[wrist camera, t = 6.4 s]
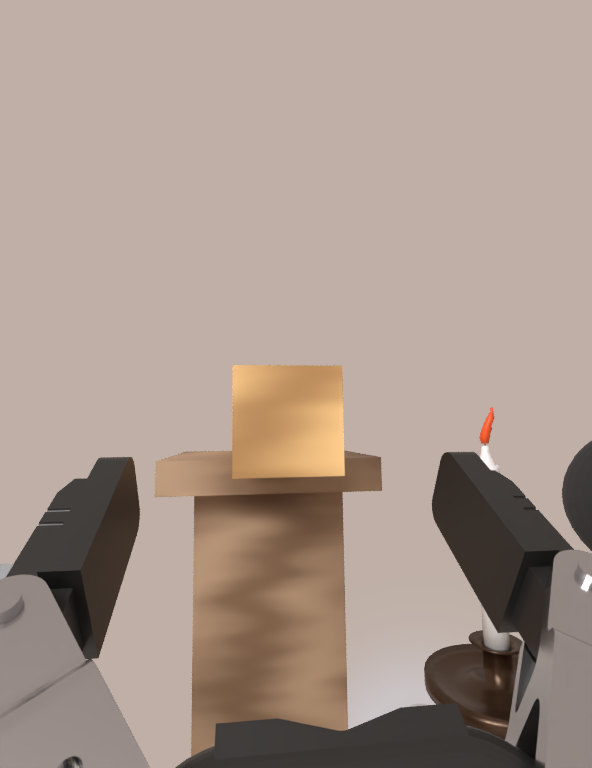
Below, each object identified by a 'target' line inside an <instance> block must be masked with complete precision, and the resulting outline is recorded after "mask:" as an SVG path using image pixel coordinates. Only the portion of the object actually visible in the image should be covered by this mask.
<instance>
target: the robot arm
mask: <svg viewBox="0 0 592 768" xmlns="http://www.w3.org/2000/svg"><path fill="white" fill-rule="evenodd" d="M562 498H563V504H564V509H565V512H566V515H567V517H568V519H569V521H570V524H571V526H572V528H573V529H574V531H575V532H576V533H577V535H578V536H579V538H580V539H581V540H582V541H583V542H584V544H585V545H586V546H587V547H588V548H589V549H590V550H591V551H592V441H591V442H589V443H588V444H587V445H585V446H584V447H583V448H582V449H581V450H580V451H579V452H578V453H577V454H576V456H575V457H574V459H573V460H572V462H571V464H570V465H569V467H568V469H567V472H566V474H565V477H564V482H563V488H562ZM432 511H433V516H434V520H435V522H436V524H437V526H438V528H439V529H440V531H441V533H442V535H443V537H444V538H445V540H446V542H447V544H448V545H449V547H450V549H451V551H452V553H453V554H454V556H455V558H456V560H457V562H458V563H459V565H460V566H461V569H462V570H463V572H464V574H465V576H466V577H467V579H468V581H469V583H470V584H471V586H472V588H473V590H474V592H475V593H476V595H477V597H478V599H479V601H480V602H481V604H482V606H483V608H484V610H485V611H486V613H487V615H488V617H489V618H490V620H491V622H492V624H493V626H494V627H495V629H496V631H497V633H507V632H519V633H520V635H521V637H522V638H523V642H522V645H521V648H520V652H519V658H518V665H517V672H516V679H515V685H514V692H513V699H512V706H511V712H510V719H509V725H508V730H507V734H506V738H505V740H503V739H502V738H499V737H497V736H495V735H493V734H491V733H489V732H487V731H484V730H481V729H478V728H475V727H472V726H467V725H465V722H464V720H463V717H462V715H461V712H460V710H459V707H458V705H457V703H451V704H439V705H428V706H416V707H404V708H399V709H397V710H394V711H392V712H389V713H387V714H384V715H382V716H380V717H377V718H375V719H373V720H371V721H368V722H365V723H363V724H361V725H358V726H356V727H353V728H351V729H348V730H344V731H338V730H333V729H328V728H323V727H318V726H313V725H308V724H303V723H298V722H293V721H289V720H284V719H279V718H275V719H264V720H252V721H240V722H229V723H217V724H216V729H215V746H213V747H210V748H208V749H205V750H203V751H201V752H199V753H197V754H195V755H194V756H192V757H190V758H188V759H186V760H185V761H184V762H182V763H181V764H180V765H178V766H177V767H176V768H592V554H591V553H588V552H584V551H580V550H574V549H573V548H572V547H571V546H570V545H569V544H568V543H567V542H566V540H565V539H564V538H563V537H562V536H561V535H560V534H559V533H558V531H557V530H556V529H555V528H554V527H553V526H552V525H551V524H550V523H549V521H548V520H547V519H546V518H545V517H544V516H543V515H542V514H541V513H540V511H539V510H536V507H535V506H534V505H533V504H532V503H531V501H530V500H529V499H528V498H527V499H526V498H525V495H524V494H523V493H522V491H520V489H519V488H518V487H517V486H516V485H515V484H514V483H513V482H512V481H511V480H509V479H508V478H506V477H504V476H503V475H501V474H500V473H498V472H497V471H495V470H490V469H489V468H488V466H487V465H486V464H485V463H484V462H483V461H482V459H481V458H480V457H479V456H478V455H477V454H476V453H475V452H446V453H444V454H443V456H442V458H441V461H440V466H439V470H438V475H437V480H436V485H435V489H434V494H433V499H432ZM139 516H140V508H139V500H138V492H137V483H136V474H135V466H134V461H133V459H132V457H113V458H99V459H98V460H97V462H96V464H95V465H94V468H93V469H92V471H91V473H90V475H89V477H88V478H87V479H74V480H73V481H72V482H70V483H69V484H68V485H67V486H65V487H64V488H63V489H62V490H60V491H59V492H58V493H57V494H56V496H55V498H54V499H53V501H52V502H51V504H50V506H49V507H48V511H47V512H45V514H44V515H43V517H42V519H41V520H40V522H39V526H37V527H36V529H35V530H34V532H33V533H32V535H31V537H30V538H29V540H28V542H27V543H26V545H25V547H24V548H23V550H22V551H21V553H20V555H19V556H18V558H17V560H16V561H15V563H14V564H13V566H12V568H11V569H10V571H9V573H8V574H7V576H6V578H3V579H0V768H150V766H149V765H148V763H147V761H146V759H145V757H144V755H143V753H142V751H141V749H140V747H139V746H138V744H137V742H136V740H135V738H134V736H133V734H132V732H131V730H130V728H129V726H128V724H127V723H126V721H125V719H124V717H123V715H122V713H121V711H120V709H119V707H118V705H117V704H116V702H115V700H114V698H113V696H112V694H111V692H110V690H109V688H108V686H107V684H106V683H105V681H104V679H103V677H102V675H101V673H100V671H99V669H98V667H97V666H96V664H95V663H94V662H93V660H92V659H93V658H98V657H99V654H100V651H101V648H102V645H103V642H104V638H105V635H106V632H107V629H108V626H109V622H110V619H111V616H112V613H113V609H114V606H115V603H116V600H117V597H118V593H119V590H120V587H121V584H122V581H123V577H124V574H125V571H126V567H127V565H128V561H129V558H130V555H131V552H132V548H133V545H134V542H135V538H136V536H137V532H138V527H139ZM86 659H88V660H86Z"/></svg>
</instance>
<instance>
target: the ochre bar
mask: <svg viewBox="0 0 592 768" xmlns="http://www.w3.org/2000/svg"><path fill="white" fill-rule="evenodd" d="M342 381H343V379H342V366H287V365H284V366H281V365H277V366H276V365H275V366H274V365H273V366H272V365H233V439H232V440H233V442H232V443H233V445H232V479H240V478H281V477H322V476H345V462H344V423H343V422H344V421H343V383H342Z"/></svg>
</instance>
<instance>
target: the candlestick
mask: <svg viewBox="0 0 592 768" xmlns="http://www.w3.org/2000/svg"><path fill="white" fill-rule="evenodd" d="M490 411H491V412H490V413H489V415H488V416H487V418H486V420H485V422H484V425H483V428H482V430H481V433H480V441H481V443H489V438H490V433H491V430H492V427H491V425H492V422H493V420H494V414H493V408H492V407H491V408H490ZM480 458H481V459H482V461H483V462H484V463H485V464H486V465H487V466H488V468H489V469H490V470H495V471H497V472H498V473H499V464H494V463H493V460H492V457H491V455H490V451H489V447H488V446H482V447H481V455H480ZM481 606H482V604H481ZM482 624H483V630H482V631H476V632H474V633H471V634H470V636H469V641H470V642H471V643H472V644H461V645H454V646H449V647H446V648H442V649H440V650H438V651H436V652H434V653H433V654H432V655H431V656H429V658H428V659H427V661H426V662H425V668H424V671H425V685H426V690H427V692H428V694H429V696H430V698H431V699H432V700H433V701H434V702H435V703H436V705H439V704H451V703H457V705H458V707H459V710H460V712H461V715H462V717H463V720H464V722H465V725H467V726H472V727H475V728H478V729H481V730H484V731H487V732H489V733H491V734H493V735H495V736H497V737H499V738H502V739H503V740H505V738H506V734H507V730H508V725H509V719H510V712H511V706H512V699H513V692H514V685H515V679H516V672H517V665H518V658H519V652H520V648H521V645H522V641H521V640H520V639H518V638H516V637H514V636H512V635H510V634H509V632H507V633H497V631H496V629H495V627H494V626H493V624H492V622H491V620H490V618H489V617H488V615H487V613H486V611H485V610H484V608H483V606H482Z"/></svg>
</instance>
